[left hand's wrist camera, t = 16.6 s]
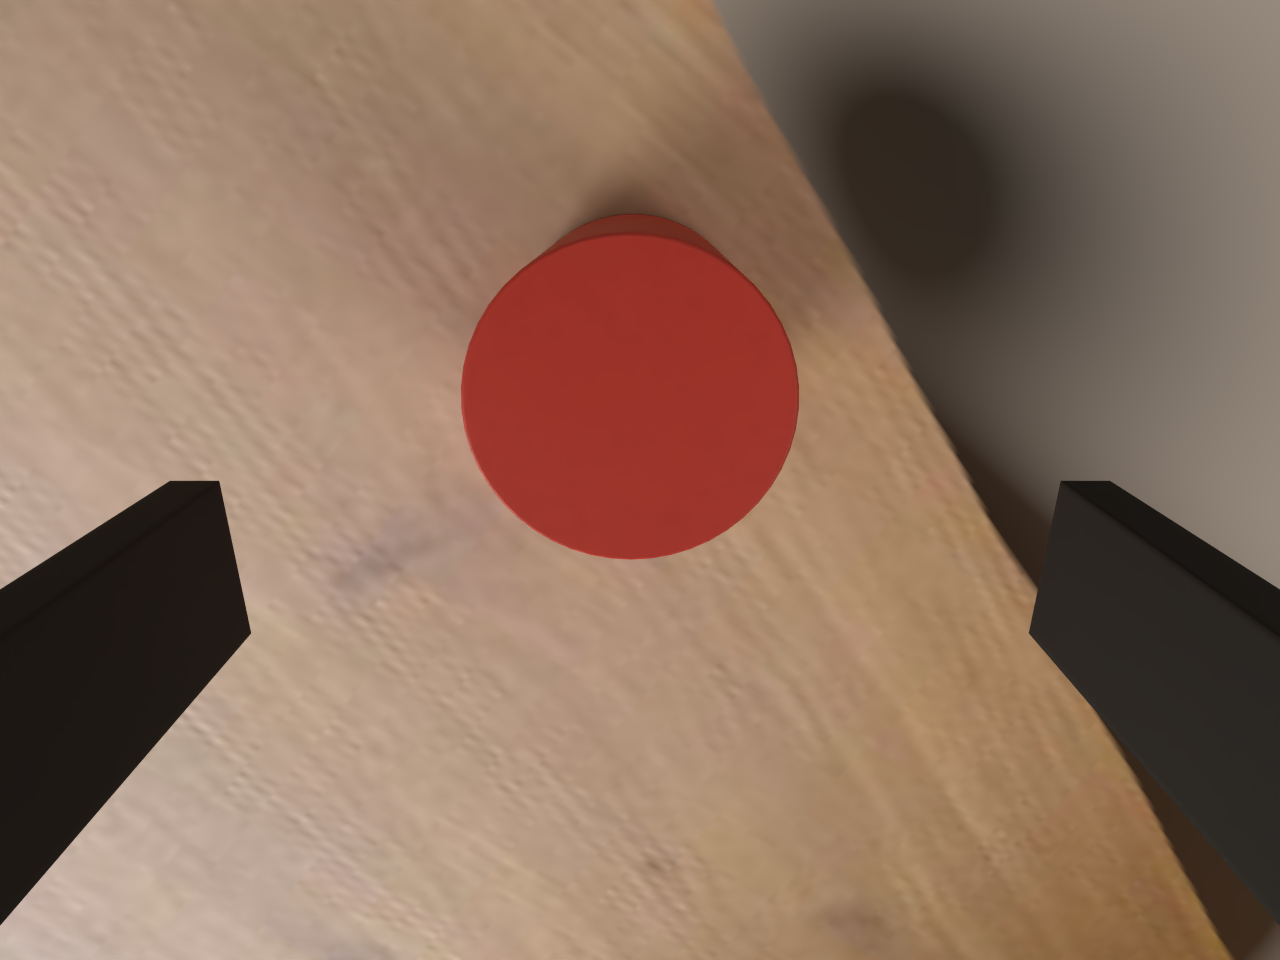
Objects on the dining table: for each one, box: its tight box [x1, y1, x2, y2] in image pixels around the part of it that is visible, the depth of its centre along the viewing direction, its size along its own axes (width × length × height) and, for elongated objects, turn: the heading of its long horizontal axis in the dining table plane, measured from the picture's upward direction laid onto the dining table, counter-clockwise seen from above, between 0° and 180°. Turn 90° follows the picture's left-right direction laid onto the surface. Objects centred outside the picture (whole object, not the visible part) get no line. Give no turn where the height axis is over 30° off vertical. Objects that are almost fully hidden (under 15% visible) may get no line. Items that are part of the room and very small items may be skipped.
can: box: [461, 214, 799, 559], centre depth 23 cm, size 8×8×9 cm
